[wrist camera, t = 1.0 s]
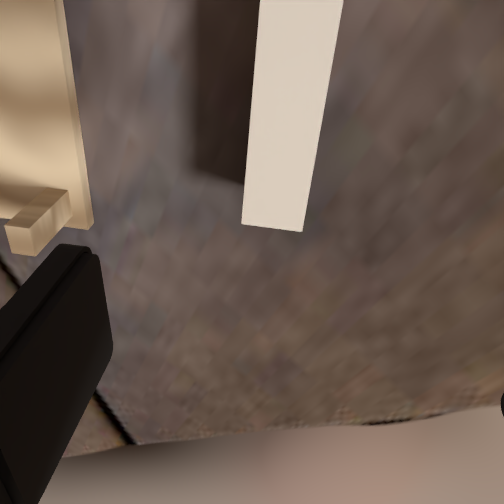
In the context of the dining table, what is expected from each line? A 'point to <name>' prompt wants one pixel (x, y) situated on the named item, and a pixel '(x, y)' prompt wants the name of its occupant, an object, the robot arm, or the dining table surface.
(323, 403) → the dining table surface
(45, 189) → the rack
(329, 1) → the white rectangular block
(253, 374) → the dining table surface
